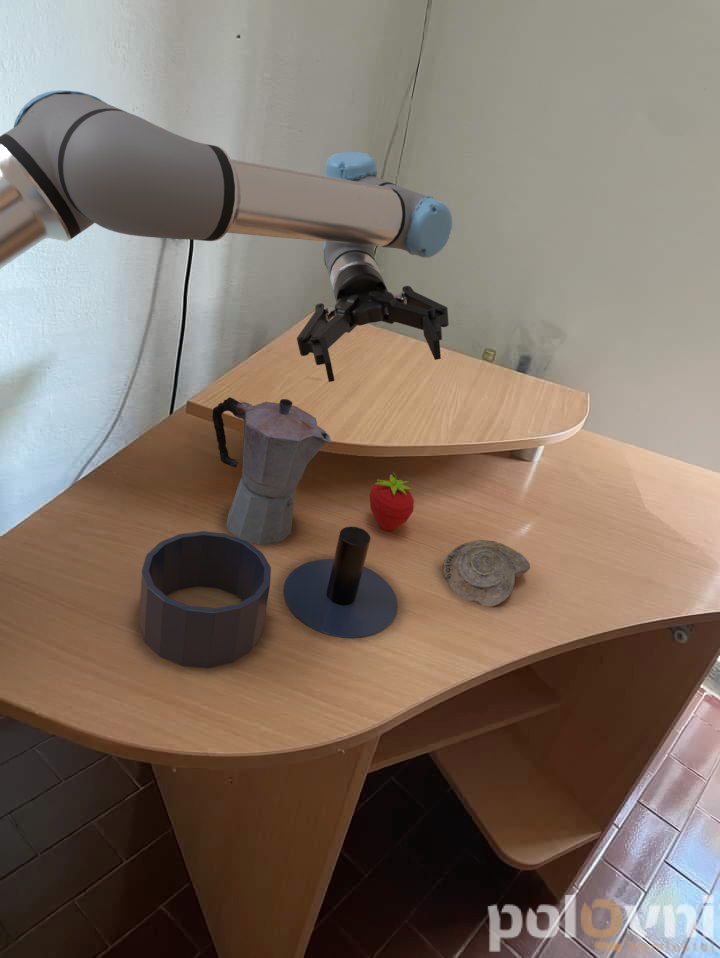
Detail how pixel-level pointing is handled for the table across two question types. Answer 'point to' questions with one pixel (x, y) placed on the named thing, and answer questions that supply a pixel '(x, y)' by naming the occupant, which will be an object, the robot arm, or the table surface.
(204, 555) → the pot
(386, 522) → the strawberry
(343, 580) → the pot lid
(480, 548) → the fossilized seashell
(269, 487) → the moka pot
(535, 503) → the table surface
